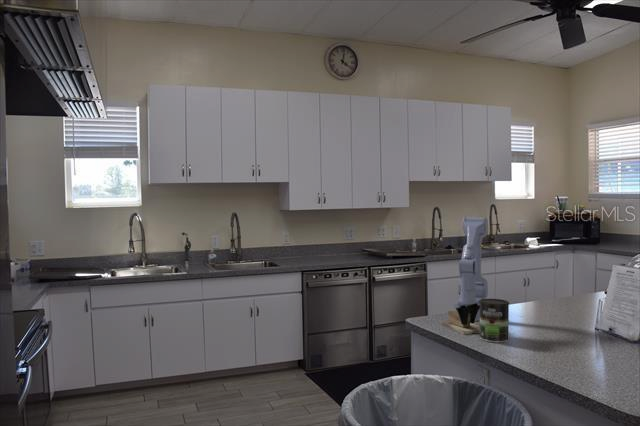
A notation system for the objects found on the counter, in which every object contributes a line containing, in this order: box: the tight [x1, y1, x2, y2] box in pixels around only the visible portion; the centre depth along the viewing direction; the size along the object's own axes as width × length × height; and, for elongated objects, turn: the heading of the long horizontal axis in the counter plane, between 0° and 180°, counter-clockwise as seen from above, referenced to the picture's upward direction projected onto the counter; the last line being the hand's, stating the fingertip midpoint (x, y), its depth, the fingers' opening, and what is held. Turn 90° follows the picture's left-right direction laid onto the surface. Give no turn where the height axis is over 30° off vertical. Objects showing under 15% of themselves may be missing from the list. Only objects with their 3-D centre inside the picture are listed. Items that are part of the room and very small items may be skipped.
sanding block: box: [447, 309, 470, 328], centre depth 204 cm, size 4×8×5 cm, turn 30°
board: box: [441, 321, 480, 335], centre depth 203 cm, size 12×16×1 cm
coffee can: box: [479, 298, 510, 344], centre depth 187 cm, size 10×10×14 cm
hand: (467, 323), depth 200 cm, fingers closed on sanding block, 4 cm apart
